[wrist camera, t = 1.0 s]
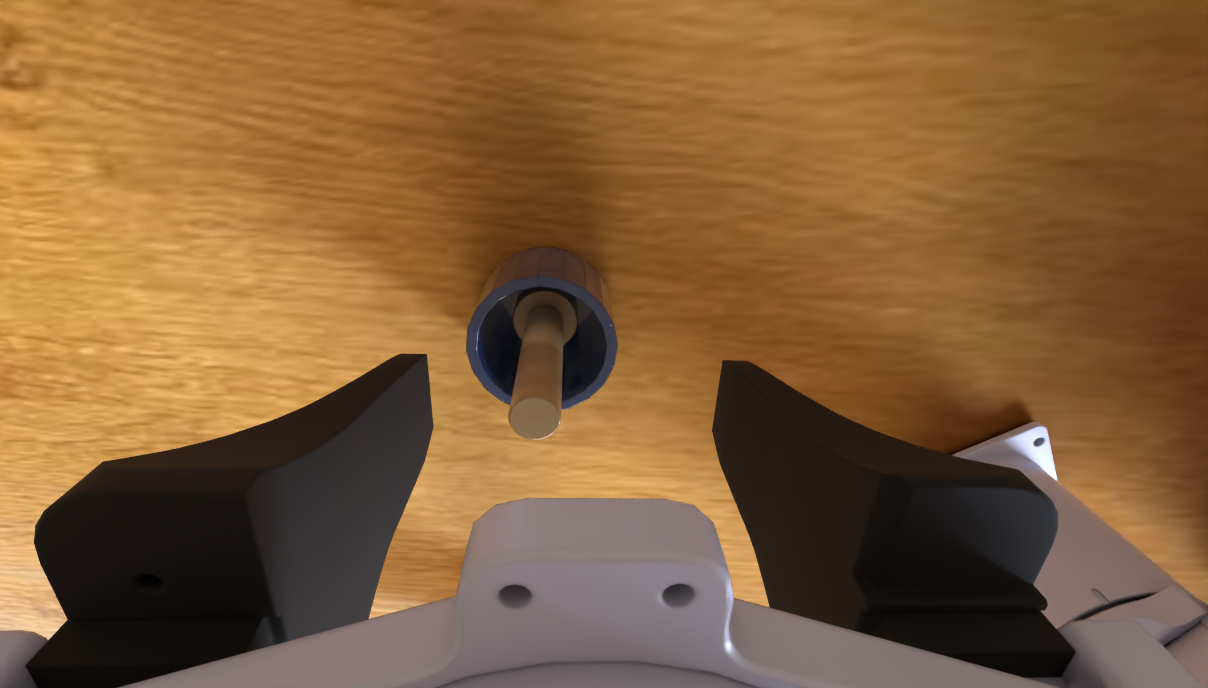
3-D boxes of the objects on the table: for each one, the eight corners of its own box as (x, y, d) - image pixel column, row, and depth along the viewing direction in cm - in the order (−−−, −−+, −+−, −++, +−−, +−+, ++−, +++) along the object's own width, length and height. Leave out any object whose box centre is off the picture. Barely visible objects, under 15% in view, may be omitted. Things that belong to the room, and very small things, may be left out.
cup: (632, 333, 25) (641, 374, 21) (523, 385, 26) (516, 434, 22) (572, 223, 23) (572, 249, 19) (455, 284, 24) (436, 320, 20)
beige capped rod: (588, 325, 24) (595, 433, 17) (534, 352, 24) (519, 469, 17) (558, 272, 23) (551, 364, 16) (502, 301, 23) (470, 403, 16)
